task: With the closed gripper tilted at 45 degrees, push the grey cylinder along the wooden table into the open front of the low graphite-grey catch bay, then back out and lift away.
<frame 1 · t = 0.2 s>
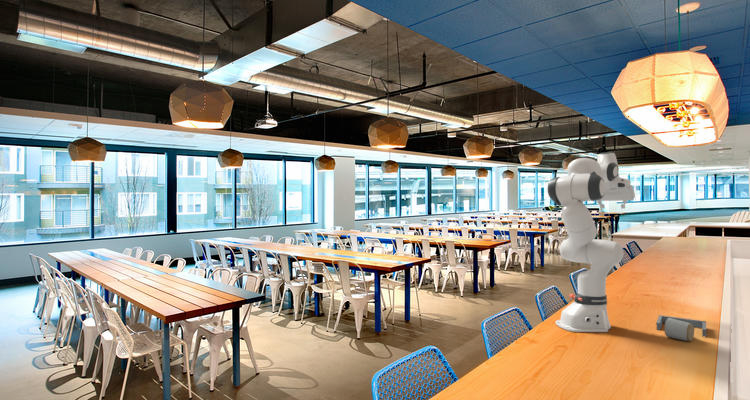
hand: (612, 208, 203), 52 cm above the table, tool tilted 20°, fingers open, 8 cm apart
catch bay: (681, 330, 168), on the table
grey cylinder: (680, 338, 159), on the table
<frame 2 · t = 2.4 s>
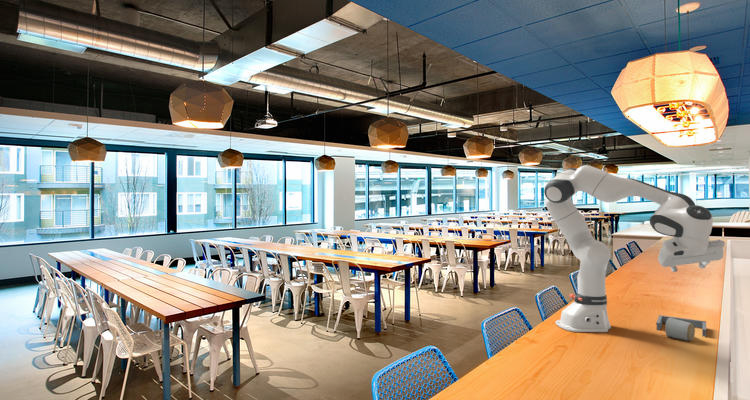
hand: (687, 268, 154), 29 cm above the table, tool tilted 40°, fingers open, 8 cm apart
nothing on the table moved.
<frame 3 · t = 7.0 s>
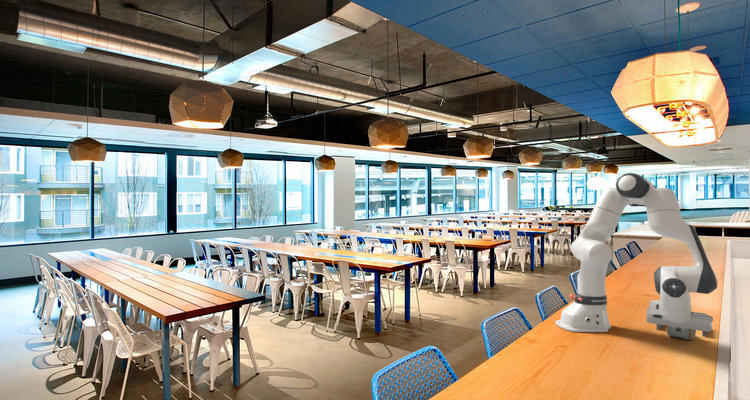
hand: (678, 329, 156), 4 cm above the table, tool tilted 45°, fingers closed
grey cylinder: (681, 337, 160), on the table, touching gripper
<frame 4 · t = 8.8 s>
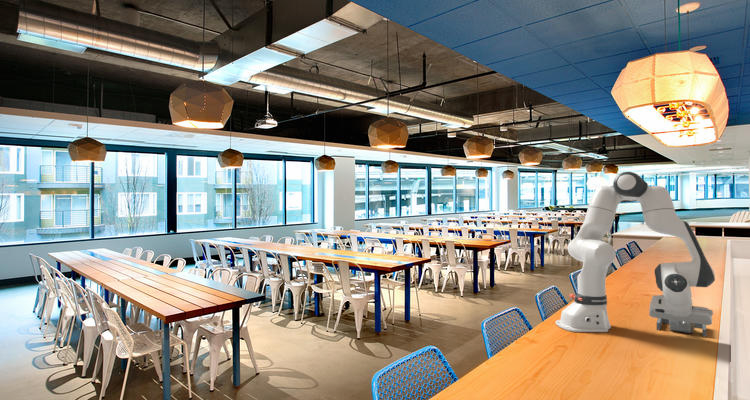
hand: (680, 323, 163), 4 cm above the table, tool tilted 45°, fingers closed, pressing on grey cylinder
grey cylinder: (681, 331, 167), on the table, touching gripper
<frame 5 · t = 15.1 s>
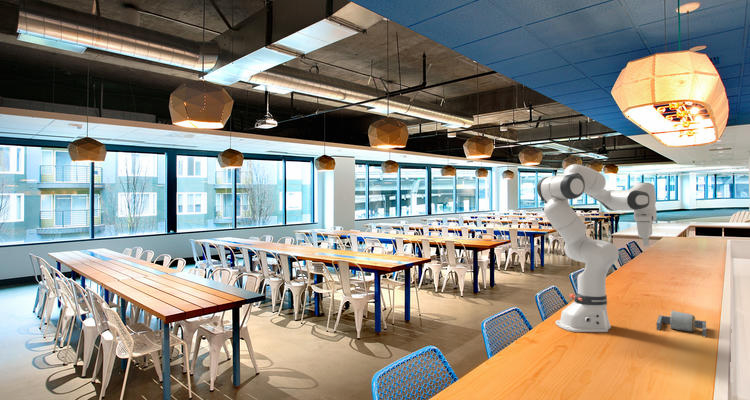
hand: (646, 245, 186), 34 cm above the table, tool pointing down, fingers closed
grey cylinder: (682, 329, 169), on the table
at the end: grey cylinder 2.0 cm from the catch bay (horizontally); grey cylinder tilted 0°; the gripper is holding nothing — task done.
